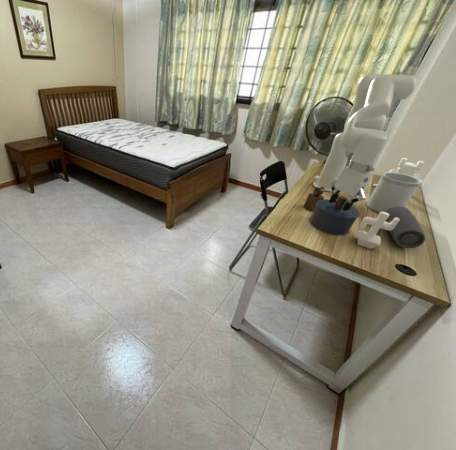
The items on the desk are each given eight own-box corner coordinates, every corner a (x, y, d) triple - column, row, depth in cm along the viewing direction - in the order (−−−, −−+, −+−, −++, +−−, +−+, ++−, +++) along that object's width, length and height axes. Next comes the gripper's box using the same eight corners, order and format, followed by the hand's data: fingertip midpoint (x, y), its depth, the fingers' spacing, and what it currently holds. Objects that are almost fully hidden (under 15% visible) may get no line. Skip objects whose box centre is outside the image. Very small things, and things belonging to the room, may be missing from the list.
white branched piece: (412, 192, 143) (435, 160, 132) (413, 200, 134) (437, 166, 123) (373, 183, 153) (391, 152, 142) (371, 190, 144) (390, 157, 133)
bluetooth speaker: (377, 220, 115) (389, 202, 109) (402, 226, 111) (416, 208, 106) (387, 245, 98) (401, 225, 93) (416, 253, 95) (433, 233, 89)
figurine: (351, 235, 104) (370, 205, 95) (379, 244, 99) (401, 213, 90) (350, 243, 99) (369, 212, 91) (378, 253, 94) (401, 221, 86)
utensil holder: (362, 208, 125) (381, 176, 115) (366, 199, 134) (384, 169, 124) (399, 219, 117) (423, 186, 107) (400, 208, 126) (422, 177, 116)
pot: (302, 218, 115) (309, 202, 110) (328, 214, 118) (336, 199, 113) (329, 236, 102) (338, 220, 98) (356, 232, 106) (366, 216, 101)
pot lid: (307, 203, 110) (312, 191, 107) (335, 200, 114) (341, 188, 111) (337, 222, 97) (344, 208, 94) (368, 217, 101) (376, 205, 98)
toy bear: (303, 206, 125) (312, 185, 118) (310, 205, 126) (320, 184, 119) (310, 211, 121) (320, 189, 114) (318, 210, 122) (328, 188, 115)
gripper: (389, 174, 89) (363, 215, 99) (347, 158, 102) (329, 196, 112) (373, 175, 87) (349, 217, 97) (333, 159, 101) (316, 197, 111)
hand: (338, 205), depth 105 cm, fingers open, 6 cm apart
